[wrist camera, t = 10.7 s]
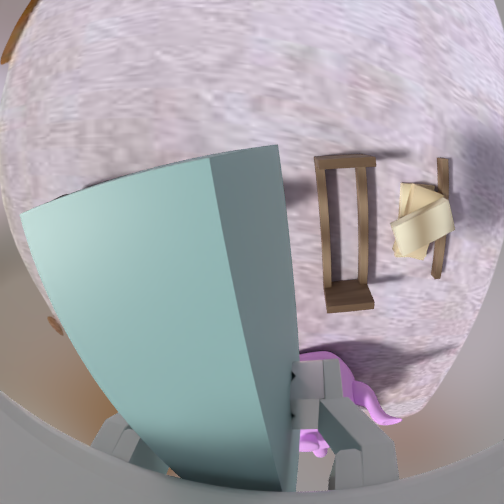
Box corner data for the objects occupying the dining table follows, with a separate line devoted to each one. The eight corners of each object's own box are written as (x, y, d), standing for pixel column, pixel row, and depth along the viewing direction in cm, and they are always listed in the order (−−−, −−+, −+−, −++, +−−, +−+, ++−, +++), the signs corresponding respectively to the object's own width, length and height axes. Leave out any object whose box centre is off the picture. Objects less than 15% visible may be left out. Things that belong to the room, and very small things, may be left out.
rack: (313, 156, 30) (317, 160, 25) (442, 154, 27) (466, 158, 22) (323, 288, 37) (327, 313, 32) (435, 276, 34) (452, 297, 28)
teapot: (286, 417, 51) (279, 475, 37) (249, 355, 44) (231, 428, 31) (388, 394, 45) (400, 454, 31) (381, 322, 38) (405, 396, 24)
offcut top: (442, 197, 27) (448, 200, 26) (449, 225, 28) (454, 229, 27) (390, 223, 30) (394, 227, 28) (399, 251, 31) (403, 256, 30)
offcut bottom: (398, 181, 30) (402, 183, 29) (429, 183, 30) (434, 186, 28) (392, 252, 34) (395, 257, 33) (422, 252, 33) (426, 256, 32)
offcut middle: (411, 183, 29) (416, 185, 27) (439, 193, 28) (444, 195, 27) (392, 249, 33) (395, 253, 31) (419, 255, 32) (423, 260, 31)
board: (210, 154, 10) (19, 213, 2) (277, 144, 9) (207, 157, 2) (260, 403, 15) (237, 520, 7) (301, 402, 14) (291, 524, 7)
